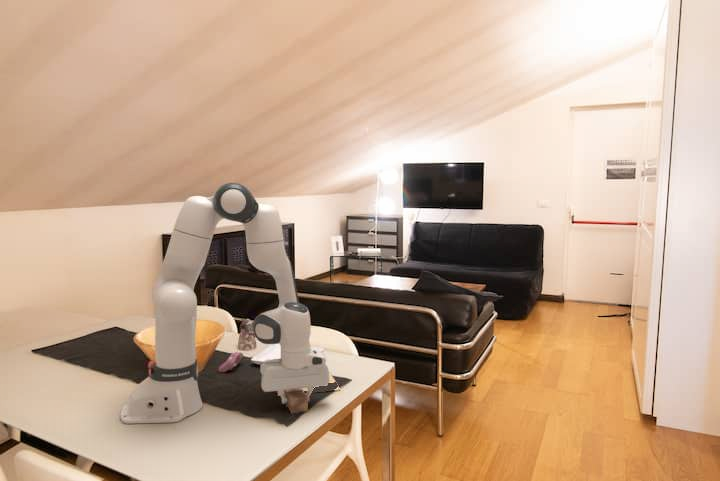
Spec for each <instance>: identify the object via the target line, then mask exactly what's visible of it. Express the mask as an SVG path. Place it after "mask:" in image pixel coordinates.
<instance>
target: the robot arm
mask: <svg viewBox="0 0 720 481" xmlns="http://www.w3.org/2000/svg"><path fill="white" fill-rule="evenodd" d="M224 219H226V220H228V221H230V222H231V221H232V222H237V223H241V224H242V225H243V229H244V232H245V244H246V254H247V258H248V261H249V263H250V264H251V265H252V266H253V267H254V268H256V269H257V270H259V271H262V272H265V273H267V274H269V275H271V276H272V277H273V279H274V281H275V286H276V291H277V295H278V296H277V297H278V300H279V304H278V307H276V308H274V309H270V310H267V311H264V312H261V313H260V314H258V315H257V316H256V317H255V318H254V320H253V321H252V324H253V332H254V335H255V339H256V340H257V341H258V342H260V343H262V344H264V345H272V344H280V346H281V358H280V359H273V360H265V362H263V363H262V364H261V365H260V368H259V371H260V374H261V382H260V386H261V390H262V391H263V392H264V393H270V392H277V391H278V393H279V395H280V396H281V397H280V398H281V404H282V405H285V403H287V396H284V395H283V394H282V393H283V390H290V389H299V388H308V391H307V393H306V395H307V397H308V402H310V396H311V395H312V394H311V393H312V391H313V387H319V386H327V385H328V383H329V372H330V371H329V367H328V365H327V363H326V362H327V357H326V356H325V354H324V353H323V352H321V351H319V350H314V349H310V348H311V347H310V346H311V343H310V338H311V334H312V333H311V332H312V331H311V326H312V325H311V315H310V311H309V309H308V307H307V306H306V305H305V304H303V303H300V300H299V294H298V289H297V284H296V278H295V273H294V269H293V265H292V262H291V260H290V258H289V257H288V255H287V253H286V248H285V242H284V233H283V226H282V221H281V218H280V214H279V211H278V209H277V208H276V207H275V206H273V205H271V204H267V203H259V202H257V200H256V199H255V197H254V196H253V194H252V192H251V190H250V189H249V188H248V187H246V186H245V185H244V184H242V183H239V182H236V181H230V182H226V183H224V184H222V185H220V187H218V188H217V189H216V191H215V192H214V194H213V195H211V196H210V197H209V196H208V197H206V196H202V195H193V196H190V197H188V198H186V200H185V201H184V202H183V204H182V206H181V208H180V210H179V213H178V215H177V217H176V220H175V223H174V226H173V229H172V233H171V236H170V240H169V243H168V246H167V248H166V249H167V250H166V253H165V256H164V258H163V262H162V263H161V266H160V269H159V271H158V274H157V276H156V280H155V282H154V285H153V288H152V292H151V293H152V294H151V296H152V300H153V304H154V311H155V328H154V329H155V330H154V331H155V333H154V336H155V337H154V343H155V344H154V346H155V360H150V361H149V362H148V364H147V367H148V376H147V377H146V378H145V379H144V380H142V381H141V382H140V383H139V384H137V385H136V386H134V388H133V389H132V391H131V392H130V395H129V399H128V402H126V403H125V404H124V405H123V407H122V408H121V409H120V415H119V418H120V421H121V422H122V423H123V424H128V425H129V424H130V425H131V424H158V423H159V424H161V423H163V424H164V423H179V422H181V421H183V419H185V418H187V417H188V416H191V415H193V414H196V413H197V412H198V411H200V410H201V409H202V407H203V404H204V403H203V401H202V398H201V394H200V390H199V385H198V384H199V383H198V378H199V364H198V359H197V358H196V329H197V313H198V312H197V311H198V310H197V309H198V298H197V295H196V293H195V292H194V290H195V286H196V283H197V280H198V278H199V276H200V274H201V273H202V272H201V271H202V269H203V268H204V266H205V264H206V261H207V257H208V254H209V251H210V247H211V243H212V240H213V237H214V234H215V231H216V227H217V226H218V224H219V223H220V221H221V220H224ZM280 362H281V363H280Z"/></svg>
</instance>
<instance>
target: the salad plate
mask: <svg viewBox="0 0 720 481" xmlns="http://www.w3.org/2000/svg"><path fill="white" fill-rule="evenodd" d="M310 347H311V348H310V349H314V350H319V351H321V352H322V353H323V352H324V351H325V348H324V347H319V346H313V345H310ZM280 358H281V346H280V344H270V345H269V346H267V347H266V348H265V349H263V350H262V351H260V352H259V353H257V354H256V355H254V356H253V357H252V358H251V359H250V361H251V362H252V363H254V364H256V365H258V366H259V365H260V366H261V364H262V363H263V362H265V360H273V359H280ZM280 363H281V362H280Z"/></svg>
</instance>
